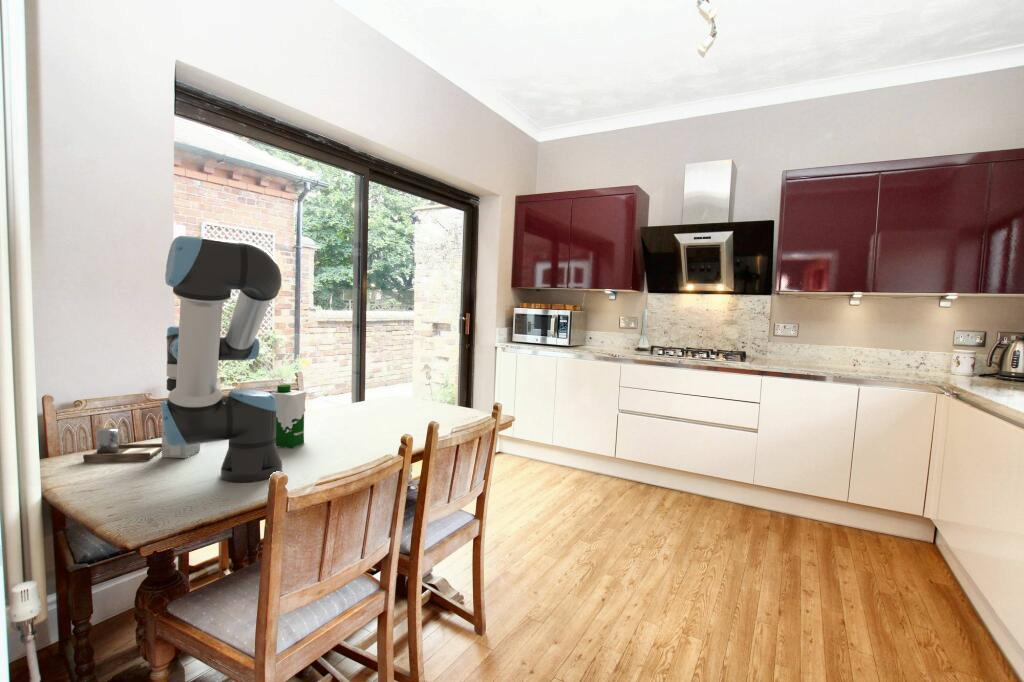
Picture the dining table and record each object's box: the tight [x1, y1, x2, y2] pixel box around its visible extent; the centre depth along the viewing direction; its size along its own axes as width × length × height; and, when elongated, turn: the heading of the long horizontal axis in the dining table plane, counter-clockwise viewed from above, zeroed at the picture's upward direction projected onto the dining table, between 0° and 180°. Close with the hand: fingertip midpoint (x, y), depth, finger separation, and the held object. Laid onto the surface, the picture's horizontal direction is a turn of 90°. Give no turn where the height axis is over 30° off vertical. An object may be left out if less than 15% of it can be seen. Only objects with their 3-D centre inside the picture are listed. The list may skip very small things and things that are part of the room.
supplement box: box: [161, 419, 201, 459], centre depth 148 cm, size 7×7×13 cm
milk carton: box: [271, 384, 307, 449], centre depth 163 cm, size 9×9×20 cm
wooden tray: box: [82, 442, 162, 463], centre depth 144 cm, size 16×11×2 cm, turn 106°
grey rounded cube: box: [96, 426, 120, 454], centre depth 143 cm, size 5×5×7 cm
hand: (181, 450), depth 148 cm, fingers open, 8 cm apart
